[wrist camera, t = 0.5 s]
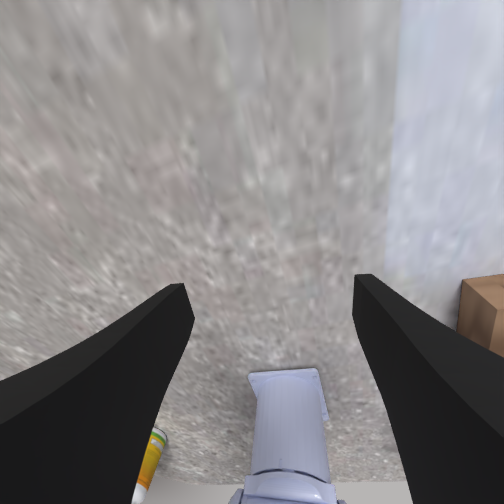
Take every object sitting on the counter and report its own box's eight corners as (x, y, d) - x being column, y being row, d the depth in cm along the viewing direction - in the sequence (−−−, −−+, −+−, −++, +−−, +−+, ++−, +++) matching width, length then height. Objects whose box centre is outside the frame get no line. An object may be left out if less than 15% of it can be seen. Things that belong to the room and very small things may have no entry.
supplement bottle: (154, 422, 36) (114, 513, 28) (174, 440, 38) (142, 530, 30) (128, 426, 38) (82, 513, 29) (148, 443, 40) (111, 530, 31)
